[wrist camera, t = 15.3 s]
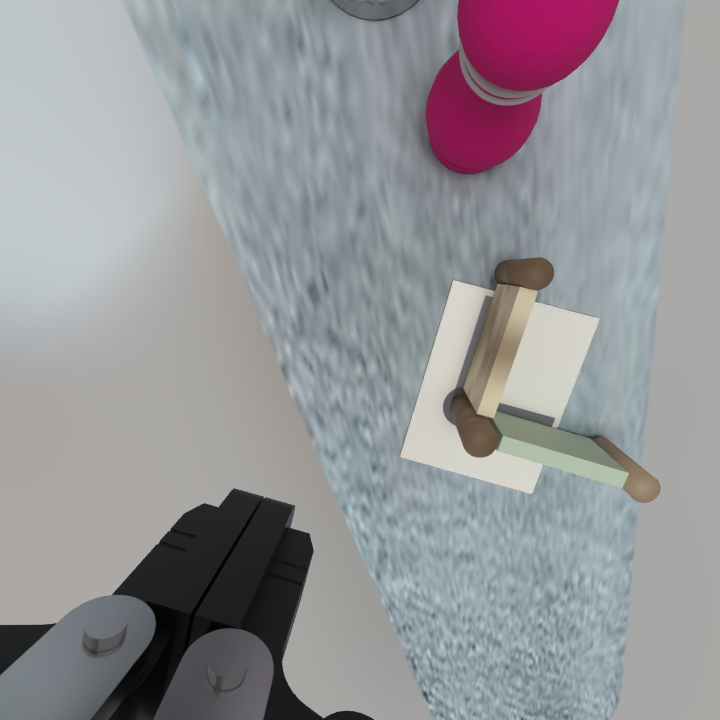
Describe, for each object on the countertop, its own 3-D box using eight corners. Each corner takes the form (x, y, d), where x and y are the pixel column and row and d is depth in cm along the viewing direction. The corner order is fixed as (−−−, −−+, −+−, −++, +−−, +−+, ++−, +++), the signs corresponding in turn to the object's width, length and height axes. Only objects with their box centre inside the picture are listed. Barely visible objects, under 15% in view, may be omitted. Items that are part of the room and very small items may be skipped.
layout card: (453, 280, 35) (453, 280, 34) (598, 318, 34) (600, 318, 34) (400, 455, 38) (400, 457, 38) (530, 492, 38) (531, 494, 37)
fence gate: (479, 425, 36) (497, 459, 29) (487, 403, 36) (507, 433, 29) (606, 462, 36) (653, 506, 29) (615, 441, 35) (665, 480, 29)
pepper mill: (497, 194, 33) (637, 83, 14) (409, 164, 33) (422, 12, 14) (535, 95, 31) (757, -192, 12) (442, 64, 32) (512, -270, 12)
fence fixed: (497, 257, 34) (524, 253, 26) (526, 264, 34) (562, 263, 26) (445, 415, 37) (457, 452, 29) (472, 422, 37) (491, 461, 29)
